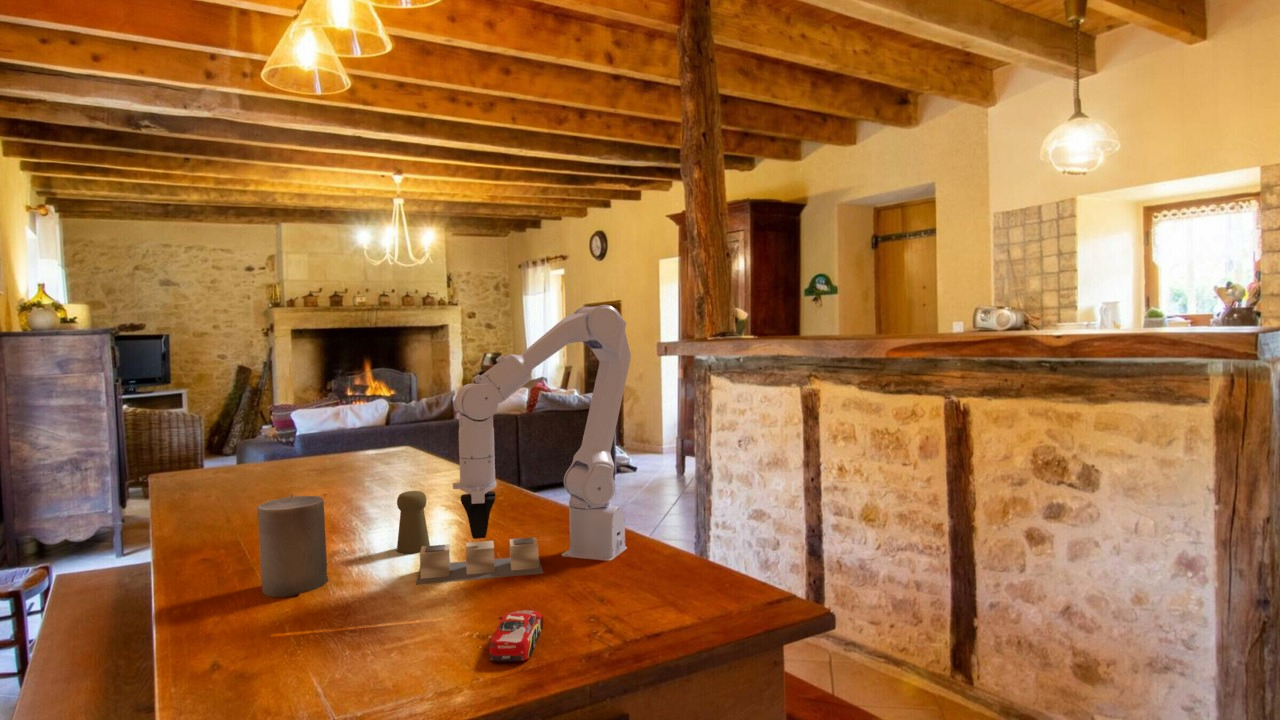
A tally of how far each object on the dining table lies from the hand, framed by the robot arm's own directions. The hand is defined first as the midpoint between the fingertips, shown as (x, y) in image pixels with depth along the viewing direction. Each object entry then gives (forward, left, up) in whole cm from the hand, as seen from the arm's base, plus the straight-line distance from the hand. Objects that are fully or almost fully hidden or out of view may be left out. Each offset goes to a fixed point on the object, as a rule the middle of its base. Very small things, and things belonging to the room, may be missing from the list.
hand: (479, 537), depth 126 cm
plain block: (0, 0, -5) cm, 5 cm away
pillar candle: (+24, +15, -6) cm, 30 cm away
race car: (-21, +23, -6) cm, 32 cm away
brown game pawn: (+18, -7, -6) cm, 20 cm away
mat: (0, 0, -6) cm, 6 cm away
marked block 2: (-6, -4, -5) cm, 9 cm away
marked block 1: (+6, +4, -5) cm, 9 cm away
